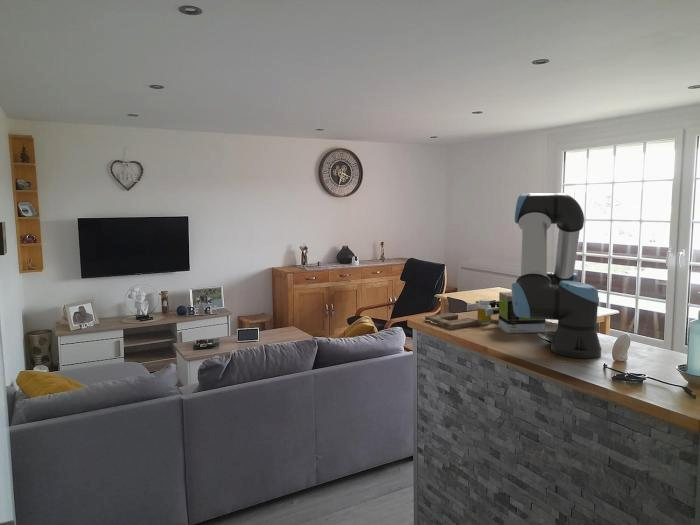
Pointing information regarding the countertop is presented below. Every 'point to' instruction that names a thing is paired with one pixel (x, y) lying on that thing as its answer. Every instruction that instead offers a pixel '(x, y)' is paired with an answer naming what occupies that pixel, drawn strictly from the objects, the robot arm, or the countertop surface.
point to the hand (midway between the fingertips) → (476, 309)
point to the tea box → (516, 318)
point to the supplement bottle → (483, 312)
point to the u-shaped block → (452, 321)
